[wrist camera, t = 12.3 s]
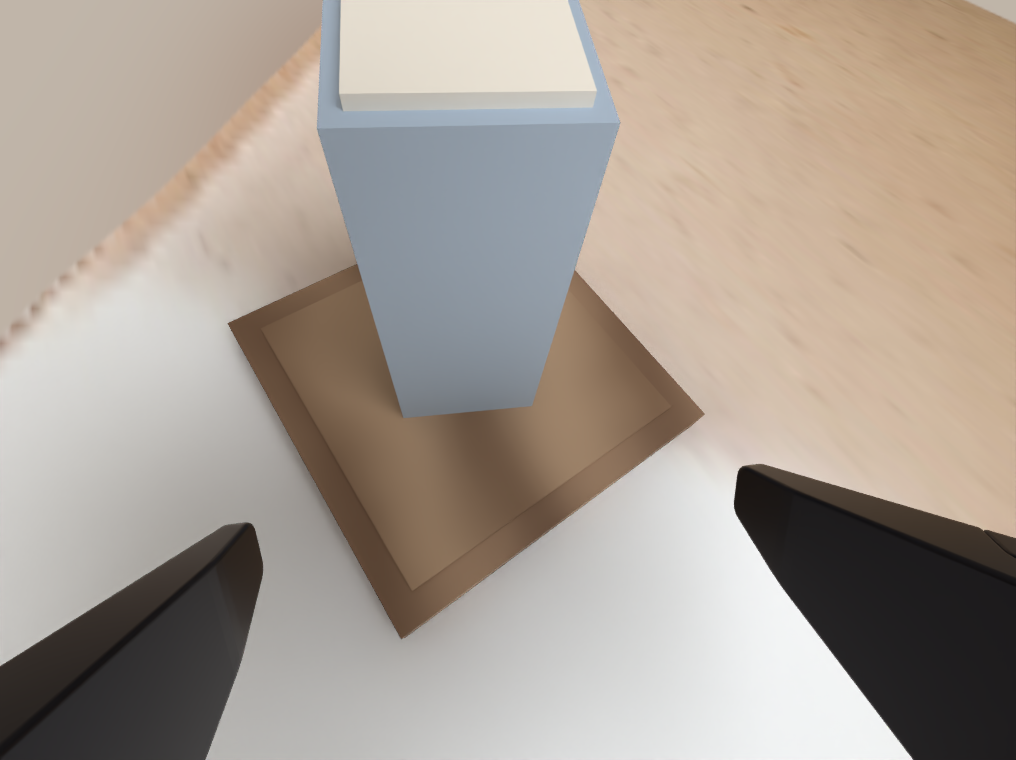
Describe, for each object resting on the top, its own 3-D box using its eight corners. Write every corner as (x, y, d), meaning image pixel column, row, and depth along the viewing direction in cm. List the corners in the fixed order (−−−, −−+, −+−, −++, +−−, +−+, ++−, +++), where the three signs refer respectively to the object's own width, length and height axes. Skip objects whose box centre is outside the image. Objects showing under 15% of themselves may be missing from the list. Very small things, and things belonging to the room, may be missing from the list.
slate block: (531, 406, 20) (625, 106, 8) (403, 418, 19) (311, 111, 8) (517, 320, 21) (578, -26, 10) (399, 329, 21) (319, -32, 9)
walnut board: (405, 637, 17) (400, 639, 16) (239, 338, 21) (226, 321, 20) (692, 424, 21) (705, 413, 20) (505, 212, 26) (507, 193, 25)
